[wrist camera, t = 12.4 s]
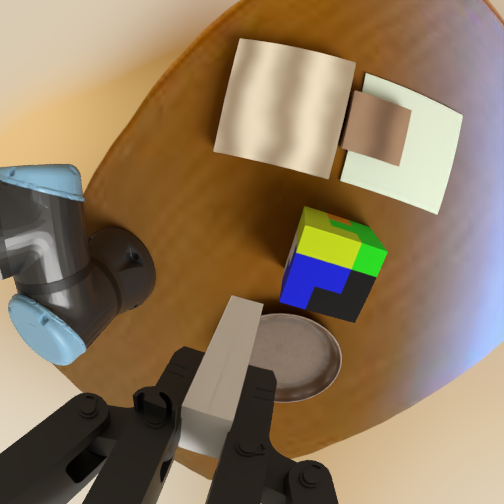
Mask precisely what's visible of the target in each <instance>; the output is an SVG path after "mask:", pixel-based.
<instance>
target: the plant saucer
mask: <svg viewBox="0 0 504 504" xmlns="http://www.w3.org/2000/svg"><path fill="white" fill-rule="evenodd" d="M341 363H342V355H341V350H340V347H339V345H338V343H337V341H336V339H335V338H334V337H333V335H332V334H331V333H330V332H329V331H328V330H327V329H326V328H324V327H323V326H322V325H320V324H318V323H317V322H315V321H313V320H311V319H308V318H306V317H303V316H299V315H295V314H288V313H272V314H265V315H261V317H260V321H259V325H258V329H257V333H256V337H255V341H254V344H253V348H252V352H251V356H250V360H249V364H248V365H252V366H256V367H260V368H264V369H268V370H272V371H273V372H274V374H275V377H276V380H277V386H276V392H275V400H274V402H296V401H302V400H305V399H308V398H311V397H313V396H315V395H318V394H319V393H321V392H323V391H324V390H325V389H327V388H328V387H329V386H330V385H331V384H332V383H333V381H334V380H335V379H336V377H337V375H338V373H339V371H340V368H341Z"/></svg>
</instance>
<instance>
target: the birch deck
mask: <svg viewBox="0 0 504 504" xmlns="http://www.w3.org/2000/svg"><path fill="white" fill-rule="evenodd" d="M355 66H356V63H355V62H351V61H348V60H345V59H341V58H338V57H334V56H330V55H327V54H323V53H319V52H315V51H310V50H306V49H302V48H297V47H292V46H287V45H282V44H276V43H270V42H264V41H257V40H249V39H241V38H240V40H239V44H238V47H237V51H236V55H235V59H234V63H233V67H232V71H231V75H230V79H229V83H228V87H227V92H226V96H225V100H224V105H223V109H222V114H221V118H220V123H219V127H218V132H217V137H216V142H215V146H214V151H213V152H218V153H223V154H228V155H233V156H238V157H242V158H247V159H251V160H256V161H260V162H264V163H268V164H273V165H277V166H281V167H285V168H289V169H292V170H296V171H300V172H304V173H307V174H311V175H315V176H318V177H322V178H325V179H329V175H330V172H331V168H332V164H333V160H334V156H335V152H336V149H337V145H338V141H339V137H340V133H341V128H342V124H343V120H344V116H345V112H346V107H347V103H348V99H349V94H350V90H351V85H352V80H353V76H354V71H355Z"/></svg>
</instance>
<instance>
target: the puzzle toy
mask: <svg viewBox="0 0 504 504" xmlns="http://www.w3.org/2000/svg"><path fill="white" fill-rule="evenodd" d="M387 252H388V251H387V250H386V249H385V247H384V246H383V245H382V243H381V242H380V240H379V239H378V238H377V236H376V235H375V234H374V232H373V231H372V230H371V228H370V227H368V226H365V225H362V224H359V223H356V222H353V221H350V220H347V219H344V218H341V217H338V216H335V215H332V214H329V213H326V212H323V211H319V210H316V209H313V208H310V207H307V206H304V209H303V212H302V215H301V218H300V221H299V225H298V228H297V231H296V234H295V237H294V240H293V243H292V246H291V250H290V253H289V256H288V259H287V262H286V265H285V268H284V274H283V280H282V287H281V294H280V300H279V302H281V303H284V304H288V305H291V306H295V307H298V308H302V309H305V310H309V311H313V312H316V313H320V314H323V315H327V316H331V317H334V318H338V319H342V320H346V321H349V322H353V323H355V321H356V319H357V317H358V315H359V313H360V311H361V309H362V307H363V305H364V303H365V301H366V299H367V297H368V295H369V293H370V291H371V288H372V286H373V284H374V282H375V280H376V277H377V275H378V273H379V271H380V268H381V266H382V264H383V261H384V259H385V257H386V254H387Z"/></svg>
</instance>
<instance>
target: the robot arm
mask: <svg viewBox="0 0 504 504" xmlns="http://www.w3.org/2000/svg"><path fill="white" fill-rule="evenodd" d="M84 201H85V198H84V197H83V192H82V185H81V175H80V172H79V170H78V169H77V168H76V167H75V166H73V165H71V164H45V165H24V166H11V167H0V280H3V279H6V278H9V277H11V276H13V278H14V281H15V285H16V288H17V292H18V293H17V294H15V295H14V296H12V299H11V300H10V301H9V307H8V311H9V315H10V318H11V321H12V323H13V325H14V327H15V328H16V330H17V331H18V333H19V334H20V336H21V337H22V338H23V340H24V341H25V342H26V343H27V344H28V346H29V347H31V348H32V349H33V350H34V351H35V352H36V353H37V354H38V355H40V356H41V357H42V358H44V359H45V360H47V361H49V362H51V363H54V364H56V365H68V364H70V363H72V362H73V361H74V360H75V359H76V358H77V357H78V356H79V355H80V354H83V353H84V352H85V351H86V349H87V348H88V347H89V346H90V345H91V344H92V342H93V341H94V340H95V339H96V338H97V337H98V336H99V335H100V333H101V332H102V331H103V330H104V329H105V328H106V327H107V326H108V325H109V323H110V322H111V321H112V320H113V319H114V318H115V317H116V316H117V315H118V314H121V313H123V312H125V311H127V310H131V309H134V308H136V307H138V306H140V305H141V304H142V303H143V302H144V301H145V300H146V299H147V298H148V297H149V296H150V295H151V293H152V291H153V289H154V286H155V280H156V274H155V267H154V263H153V260H152V258H151V256H150V254H149V252H148V250H147V249H146V247H145V246H144V244H143V243H142V242H141V241H140V240H139V239H138V238H137V237H136V236H135V235H133V234H132V233H130V232H129V231H127V230H124V229H122V228H118V227H107V228H104V229H102V230H100V231H98V232H96V233H94V234H93V235H91V236H90V237H89V238H87V230H86V222H85V212H84ZM263 305H264V304H261V303H258V302H254V301H250V300H247V299H243V298H239V297H236V296H231V298H230V300H229V302H228V304H227V307H226V309H225V311H224V313H223V315H222V318H221V320H220V322H219V324H218V326H217V329H216V331H215V333H214V335H213V338H212V340H211V342H210V344H209V346H208V349H207V351H206V353H204V352H201V351H198V350H195V349H192V348H188V347H185V346H184V347H182V348H181V349H179V350H178V351H176V352H175V353H174V354H173V356H172V358H171V360H170V361H169V364H168V365H167V367H166V368H165V371H164V372H163V373H162V375H161V377H160V379H159V380H158V382H157V384H156V386H151V387H144V388H142V389H139V390H137V391H136V392H135V393H134V394H133V401H134V407H132V408H123V407H116V406H110V405H107V403H106V402H105V401H104V400H103V398H102V397H100V396H98V395H96V394H93V393H81V394H79V395H77V396H75V397H73V398H72V399H71V400H69V401H68V402H67V403H66V404H65V405H63V406H62V407H60V408H59V409H58V410H57V411H55V412H54V413H53V414H51V415H50V416H49V417H47V418H46V419H45V420H44V421H42V422H41V423H40V424H38V425H37V426H36V427H34V428H33V429H32V430H30V431H29V432H28V433H27V434H26V435H24V436H23V437H21V438H20V439H19V440H17V441H16V442H15V443H14V444H12V445H11V446H10V447H8V448H7V449H6V450H4V451H3V452H2V453H0V504H67V503H68V502H69V501H70V500H71V499H72V498H73V497H74V496H75V495H76V494H77V493H78V492H79V491H81V489H83V488H84V487H85V486H86V485H87V484H88V483H89V482H90V481H91V480H92V479H93V478H94V477H95V476H96V475H97V474H98V473H99V474H98V476H97V478H96V480H95V481H94V483H93V485H92V487H91V489H90V490H89V493H88V494H87V496H86V498H85V499H84V501H83V503H82V504H156V502H157V500H158V497H159V495H160V493H161V490H162V488H163V485H164V483H165V480H166V478H167V476H168V473H169V471H170V468H171V466H172V463H173V461H174V455H175V451H176V448H177V446H178V444H179V447H182V448H185V449H188V450H191V451H194V452H197V453H200V454H204V455H207V456H210V457H214V458H217V459H219V461H218V465H217V468H216V471H215V473H214V476H213V479H212V483H211V487H210V490H209V493H208V496H207V500H206V503H205V504H260V503H262V504H338V500H337V496H336V492H335V489H334V485H333V481H332V477H331V474H330V472H329V470H328V469H327V468H326V467H325V466H324V465H323V464H321V463H319V462H317V461H312V460H305V461H300V462H298V463H297V462H295V461H293V460H291V459H289V458H287V457H285V456H283V455H281V454H280V453H278V452H277V451H276V450H275V449H274V448H273V446H272V444H271V442H270V439H269V432H270V426H271V420H272V413H273V406H274V400H275V392H276V386H277V380H276V377H275V374H274V372H273V371H272V370H268V369H264V368H260V367H256V366H252V365H248V364H249V360H250V356H251V352H252V348H253V344H254V341H255V337H256V333H257V329H258V325H259V321H260V317H261V313H262V309H263Z"/></svg>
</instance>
